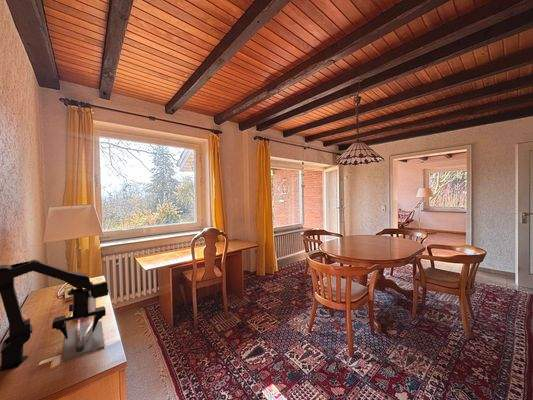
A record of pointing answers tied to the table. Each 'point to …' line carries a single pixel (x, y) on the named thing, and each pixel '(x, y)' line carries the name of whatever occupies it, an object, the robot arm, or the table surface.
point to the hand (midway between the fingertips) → (80, 335)
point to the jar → (92, 303)
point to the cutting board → (91, 345)
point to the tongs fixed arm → (79, 340)
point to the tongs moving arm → (88, 333)
